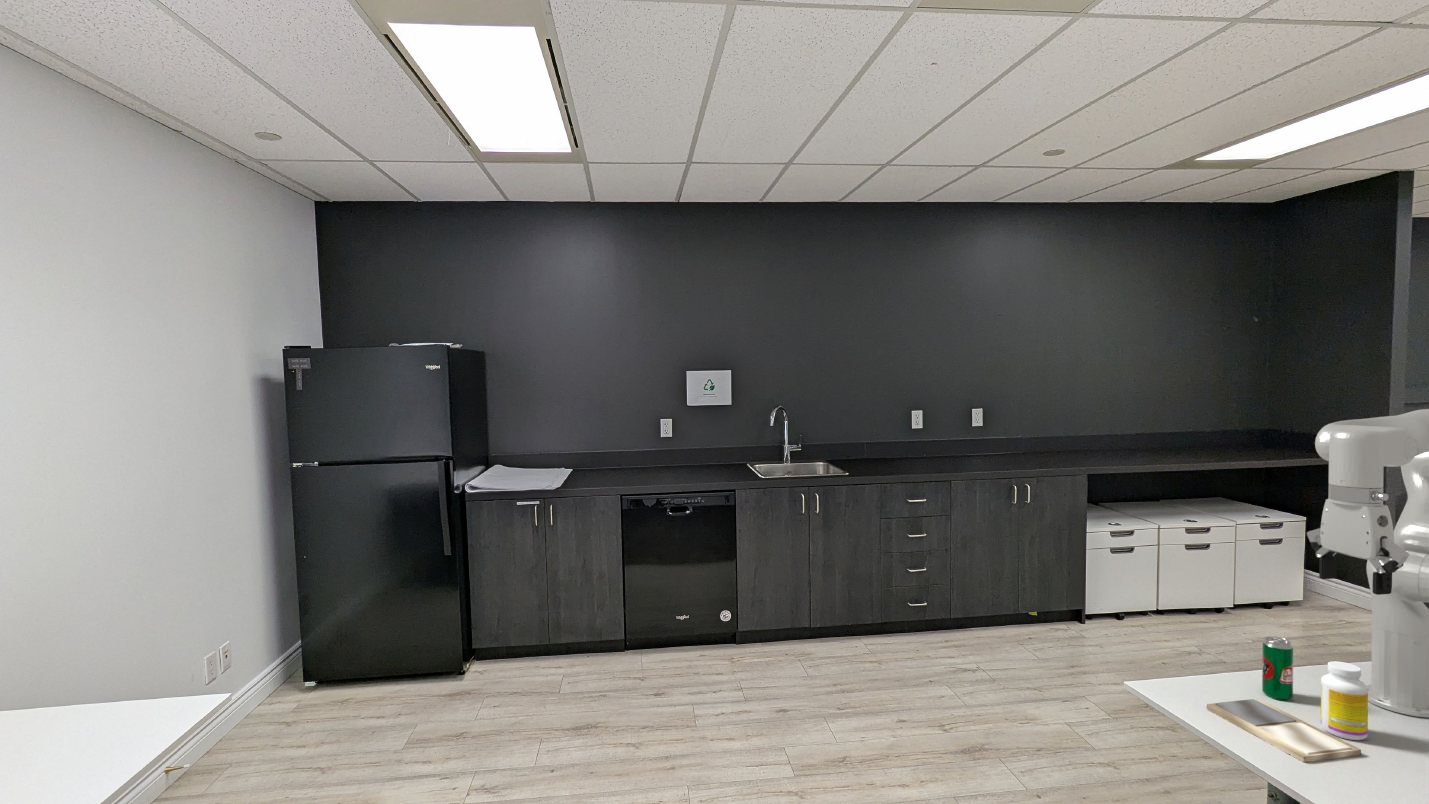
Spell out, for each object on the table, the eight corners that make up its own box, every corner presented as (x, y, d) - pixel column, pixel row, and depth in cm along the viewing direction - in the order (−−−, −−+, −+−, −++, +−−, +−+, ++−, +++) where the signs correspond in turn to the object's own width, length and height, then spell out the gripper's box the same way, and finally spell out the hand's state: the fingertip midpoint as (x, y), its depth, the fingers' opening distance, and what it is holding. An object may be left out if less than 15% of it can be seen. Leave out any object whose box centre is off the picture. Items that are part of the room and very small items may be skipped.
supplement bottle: (1376, 743, 128) (1377, 674, 127) (1335, 740, 129) (1336, 672, 129) (1351, 725, 135) (1352, 660, 134) (1312, 722, 136) (1312, 657, 135)
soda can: (1286, 703, 144) (1286, 646, 143) (1257, 694, 148) (1257, 638, 148) (1297, 697, 146) (1297, 641, 146) (1268, 688, 150) (1269, 633, 150)
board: (1257, 703, 144) (1257, 697, 144) (1360, 755, 124) (1361, 747, 124) (1206, 708, 142) (1206, 702, 142) (1303, 762, 122) (1303, 755, 122)
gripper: (1425, 502, 121) (1423, 599, 122) (1326, 487, 139) (1325, 572, 139) (1388, 504, 120) (1386, 601, 121) (1293, 488, 138) (1292, 574, 138)
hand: (1353, 585), depth 130 cm, fingers open, 9 cm apart
